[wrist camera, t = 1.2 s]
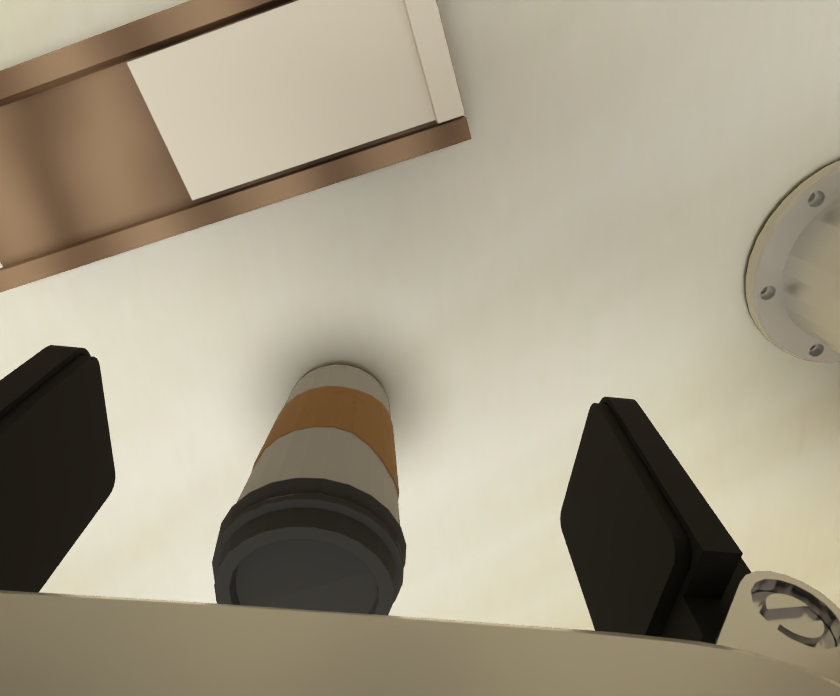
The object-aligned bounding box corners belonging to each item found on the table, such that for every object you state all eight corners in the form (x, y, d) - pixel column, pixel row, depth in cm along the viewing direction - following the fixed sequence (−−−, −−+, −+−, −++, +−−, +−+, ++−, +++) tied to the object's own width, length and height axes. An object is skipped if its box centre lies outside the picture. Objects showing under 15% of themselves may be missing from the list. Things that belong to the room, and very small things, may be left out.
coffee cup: (252, 370, 35) (160, 551, 22) (377, 328, 34) (361, 489, 21) (308, 471, 39) (258, 681, 25) (422, 435, 38) (434, 634, 24)
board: (413, -66, 26) (415, -84, 23) (464, 133, 30) (471, 138, 27) (-77, 114, 29) (-127, 118, 26) (27, 276, 32) (-7, 294, 30)
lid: (423, -43, 25) (426, -58, 22) (462, 109, 27) (469, 113, 25) (134, 63, 26) (101, 61, 23) (197, 197, 29) (174, 210, 26)
